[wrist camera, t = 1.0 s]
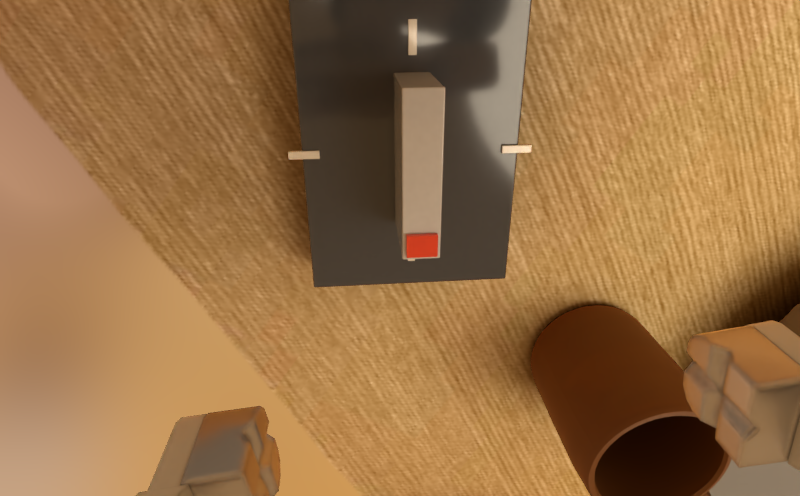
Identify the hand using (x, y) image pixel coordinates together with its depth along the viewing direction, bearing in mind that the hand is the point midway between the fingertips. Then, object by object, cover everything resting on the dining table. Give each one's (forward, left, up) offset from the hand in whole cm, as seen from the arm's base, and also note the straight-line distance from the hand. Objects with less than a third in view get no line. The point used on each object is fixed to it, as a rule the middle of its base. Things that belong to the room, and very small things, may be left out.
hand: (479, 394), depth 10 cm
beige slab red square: (0, 0, -16) cm, 16 cm away
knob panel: (0, 0, -19) cm, 19 cm away
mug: (+16, +13, -19) cm, 28 cm away
